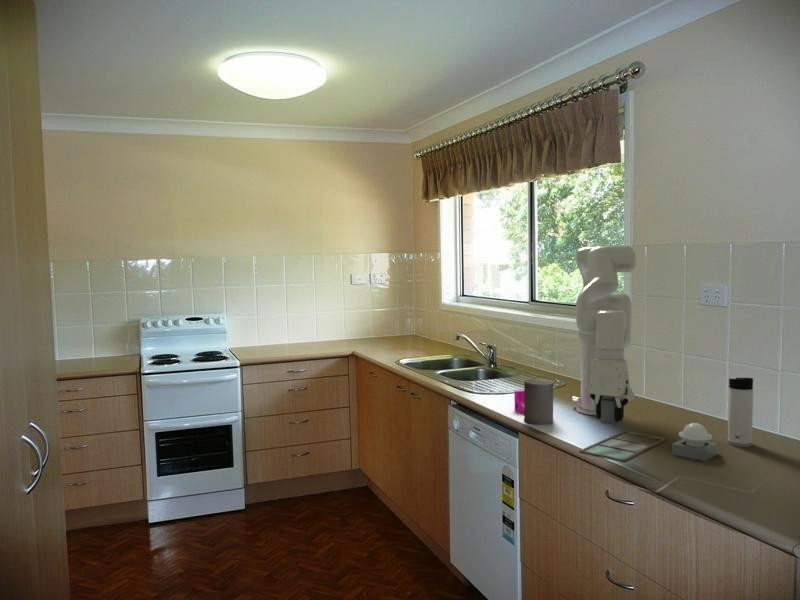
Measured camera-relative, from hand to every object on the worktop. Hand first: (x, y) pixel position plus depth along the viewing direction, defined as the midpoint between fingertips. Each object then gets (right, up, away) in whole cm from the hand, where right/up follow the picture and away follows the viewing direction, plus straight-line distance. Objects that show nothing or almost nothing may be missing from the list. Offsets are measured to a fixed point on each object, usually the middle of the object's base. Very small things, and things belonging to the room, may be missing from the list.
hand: (609, 418), depth 179 cm
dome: (+23, -8, -2) cm, 24 cm away
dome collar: (+23, -10, -2) cm, 25 cm away
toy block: (-12, -7, +46) cm, 48 cm away
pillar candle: (-12, -8, +37) cm, 39 cm away
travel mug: (+40, -9, +7) cm, 42 cm away
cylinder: (0, -1, 0) cm, 1 cm away
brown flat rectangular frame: (+7, -9, +7) cm, 13 cm away
